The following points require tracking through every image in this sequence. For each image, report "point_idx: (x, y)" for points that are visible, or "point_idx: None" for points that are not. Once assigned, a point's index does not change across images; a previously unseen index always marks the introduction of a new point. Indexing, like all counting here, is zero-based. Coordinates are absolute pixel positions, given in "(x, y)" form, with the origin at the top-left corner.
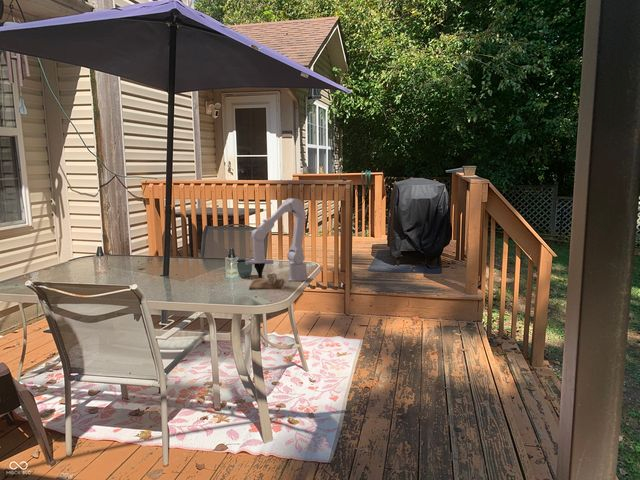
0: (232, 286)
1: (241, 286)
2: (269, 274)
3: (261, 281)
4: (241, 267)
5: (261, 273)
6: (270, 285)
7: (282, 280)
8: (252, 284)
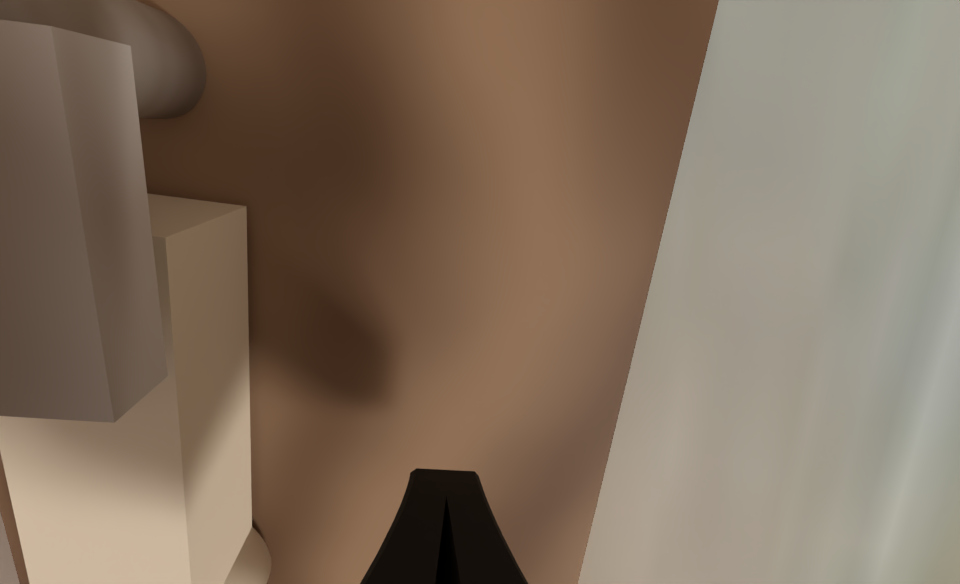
0: (943, 359)
1: (797, 329)
2: (10, 332)
3: None
4: None
5: (386, 552)
6: (147, 2)
7: (7, 514)
8: (610, 304)
